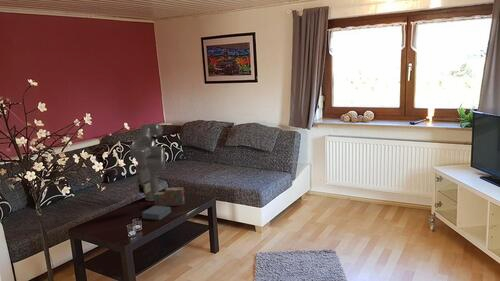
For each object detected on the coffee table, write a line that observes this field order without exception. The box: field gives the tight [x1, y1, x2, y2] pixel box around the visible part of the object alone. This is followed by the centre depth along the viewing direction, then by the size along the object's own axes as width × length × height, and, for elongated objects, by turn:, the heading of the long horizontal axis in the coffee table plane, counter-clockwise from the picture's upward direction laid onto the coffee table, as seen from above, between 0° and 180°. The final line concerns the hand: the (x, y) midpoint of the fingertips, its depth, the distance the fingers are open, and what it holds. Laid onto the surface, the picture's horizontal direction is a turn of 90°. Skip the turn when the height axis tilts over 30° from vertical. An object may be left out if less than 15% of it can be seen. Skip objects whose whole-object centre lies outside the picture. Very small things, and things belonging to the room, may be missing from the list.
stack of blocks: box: [154, 186, 186, 207], centre depth 282 cm, size 21×6×12 cm, turn 86°
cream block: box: [137, 182, 151, 194], centre depth 271 cm, size 6×6×6 cm
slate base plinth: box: [141, 205, 172, 221], centre depth 263 cm, size 14×14×4 cm
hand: (144, 190), depth 271 cm, fingers closed on cream block, 6 cm apart
